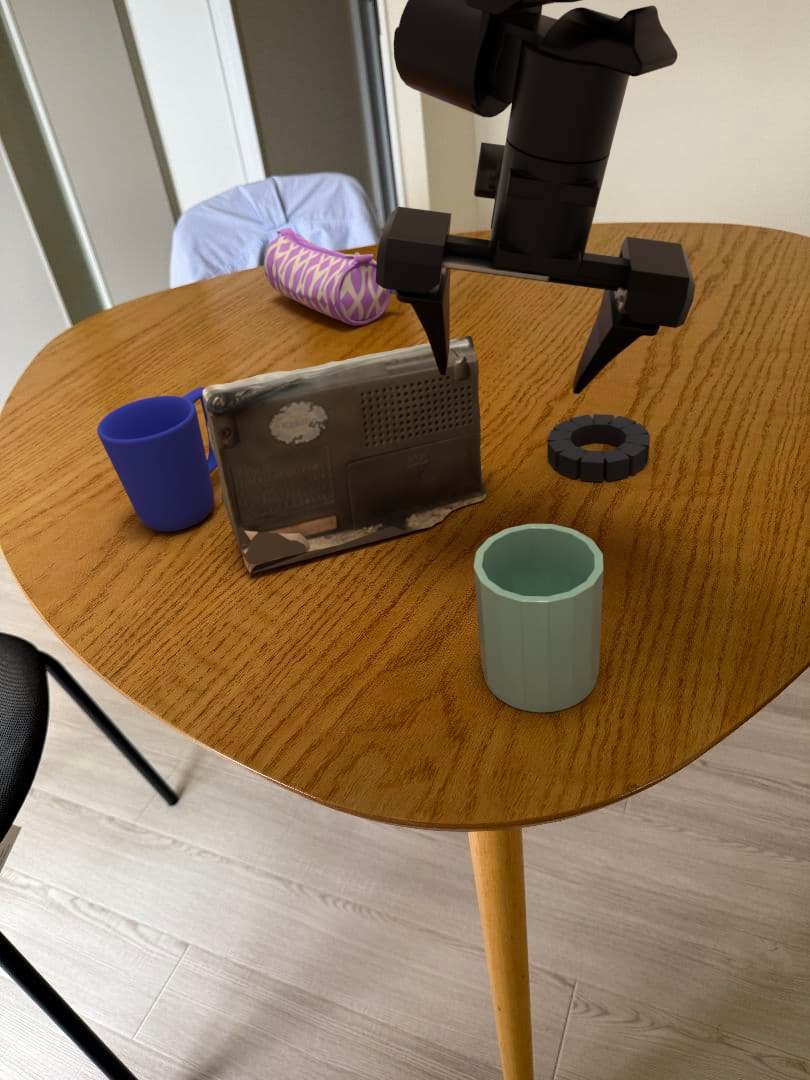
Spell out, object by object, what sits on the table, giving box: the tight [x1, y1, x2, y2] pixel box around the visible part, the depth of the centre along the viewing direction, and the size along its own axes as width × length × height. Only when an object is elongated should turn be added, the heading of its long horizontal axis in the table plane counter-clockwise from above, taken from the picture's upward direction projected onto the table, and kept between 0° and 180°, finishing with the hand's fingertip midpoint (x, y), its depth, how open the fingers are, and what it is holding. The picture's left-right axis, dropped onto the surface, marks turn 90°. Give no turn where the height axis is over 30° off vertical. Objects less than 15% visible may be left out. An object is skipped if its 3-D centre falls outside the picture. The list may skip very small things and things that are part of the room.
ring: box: [546, 413, 651, 483], centre depth 71 cm, size 9×9×2 cm
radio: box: [202, 335, 488, 575], centre depth 63 cm, size 23×9×15 cm, turn 105°
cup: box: [473, 523, 604, 713], centre depth 48 cm, size 7×7×9 cm
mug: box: [96, 386, 218, 532], centre depth 70 cm, size 8×12×10 cm
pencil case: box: [263, 227, 396, 326], centre depth 109 cm, size 22×9×9 cm, turn 39°
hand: (509, 381), depth 54 cm, fingers open, 9 cm apart
